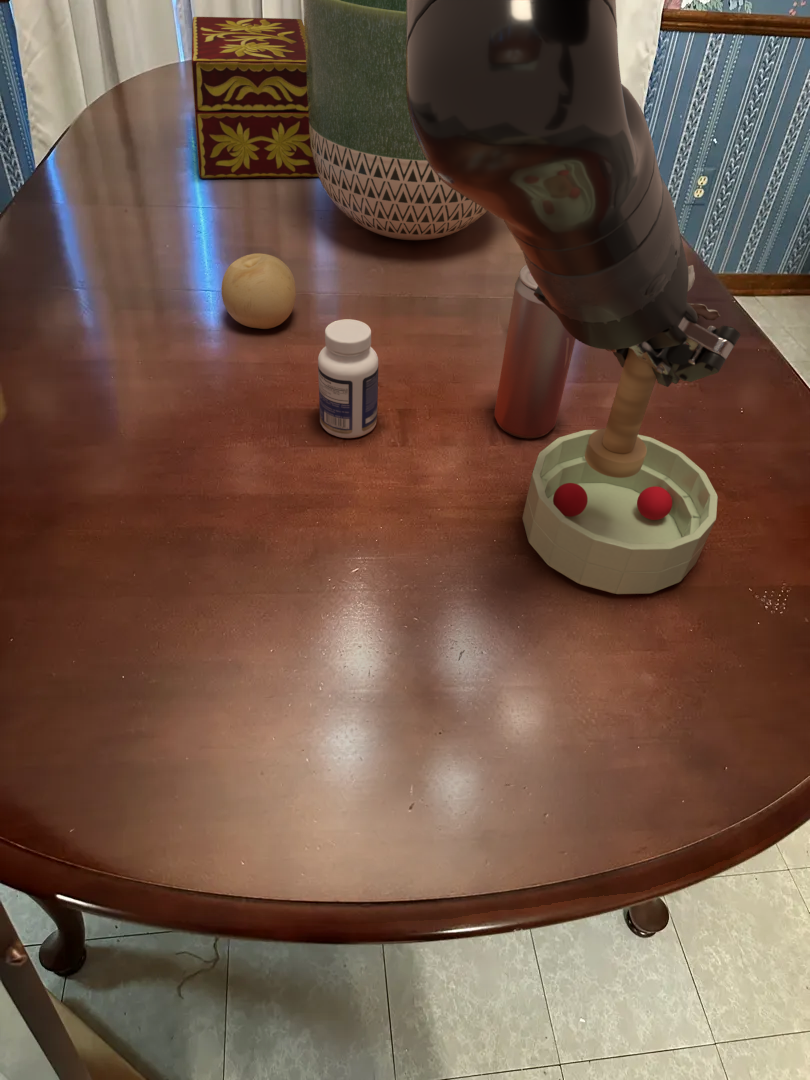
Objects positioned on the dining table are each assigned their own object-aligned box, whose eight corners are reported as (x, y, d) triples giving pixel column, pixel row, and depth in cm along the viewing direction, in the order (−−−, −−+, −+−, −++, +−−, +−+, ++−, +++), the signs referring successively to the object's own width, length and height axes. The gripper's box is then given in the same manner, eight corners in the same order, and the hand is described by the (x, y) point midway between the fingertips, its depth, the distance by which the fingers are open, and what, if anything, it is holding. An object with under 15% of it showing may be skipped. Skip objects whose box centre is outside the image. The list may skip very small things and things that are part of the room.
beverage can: (506, 398, 79) (531, 253, 68) (562, 415, 77) (597, 270, 66) (484, 429, 75) (507, 281, 64) (543, 448, 73) (576, 299, 63)
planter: (314, 184, 115) (308, -42, 96) (494, 191, 117) (523, -30, 98) (305, 267, 96) (295, 6, 77) (519, 274, 98) (561, 21, 79)
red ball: (590, 517, 66) (597, 494, 64) (562, 527, 65) (568, 504, 63) (572, 495, 67) (578, 472, 65) (544, 505, 67) (549, 481, 64)
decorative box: (327, 178, 117) (325, 64, 107) (199, 179, 114) (184, 62, 104) (309, 117, 136) (306, 16, 126) (199, 117, 133) (186, 13, 123)
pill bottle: (365, 401, 77) (367, 310, 70) (385, 433, 73) (389, 340, 67) (312, 411, 75) (308, 319, 68) (330, 444, 72) (328, 351, 65)
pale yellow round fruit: (304, 334, 84) (265, 284, 78) (242, 351, 88) (200, 304, 81) (313, 280, 88) (276, 228, 82) (253, 298, 91) (213, 249, 85)
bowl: (723, 533, 66) (747, 483, 62) (642, 629, 58) (663, 579, 54) (580, 458, 72) (593, 409, 69) (488, 536, 64) (498, 485, 61)
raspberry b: (665, 530, 65) (678, 505, 63) (632, 522, 65) (644, 497, 63) (664, 508, 67) (676, 483, 65) (632, 500, 67) (643, 476, 65)
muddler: (651, 459, 61) (715, 274, 51) (626, 485, 58) (688, 297, 48) (600, 436, 63) (652, 253, 53) (574, 461, 60) (623, 274, 50)
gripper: (770, 228, 38) (773, 355, 53) (532, 152, 44) (596, 286, 59) (688, 366, 39) (714, 452, 54) (464, 272, 45) (545, 373, 60)
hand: (652, 364), depth 57 cm, fingers closed on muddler, 2 cm apart
